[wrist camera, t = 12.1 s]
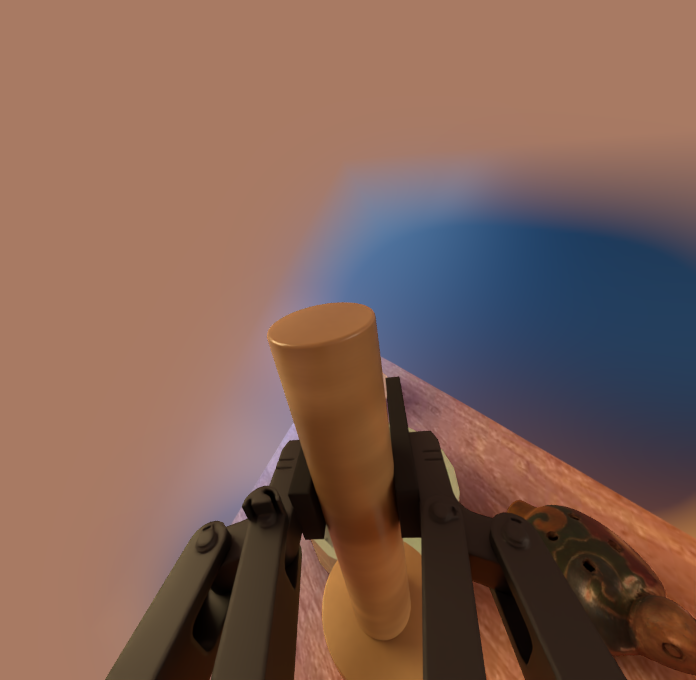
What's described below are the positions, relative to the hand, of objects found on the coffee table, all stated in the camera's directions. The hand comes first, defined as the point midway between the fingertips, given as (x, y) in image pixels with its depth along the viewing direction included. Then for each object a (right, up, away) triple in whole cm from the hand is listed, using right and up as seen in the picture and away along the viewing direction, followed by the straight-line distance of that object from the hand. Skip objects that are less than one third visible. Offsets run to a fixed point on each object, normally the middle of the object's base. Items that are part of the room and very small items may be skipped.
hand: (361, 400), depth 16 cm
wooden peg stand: (+1, -11, -1) cm, 11 cm away
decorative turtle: (+22, -22, +12) cm, 33 cm away
